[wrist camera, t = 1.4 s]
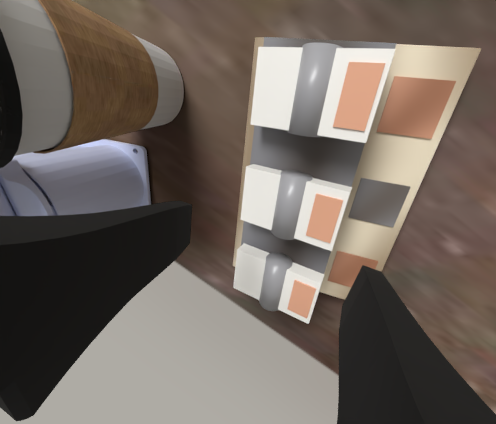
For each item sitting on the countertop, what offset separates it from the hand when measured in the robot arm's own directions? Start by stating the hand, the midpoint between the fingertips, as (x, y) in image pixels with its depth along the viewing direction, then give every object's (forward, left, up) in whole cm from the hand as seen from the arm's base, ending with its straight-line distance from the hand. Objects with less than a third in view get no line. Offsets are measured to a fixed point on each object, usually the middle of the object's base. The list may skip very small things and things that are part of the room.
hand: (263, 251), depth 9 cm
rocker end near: (0, +6, -5) cm, 8 cm away
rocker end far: (0, -6, -5) cm, 8 cm away
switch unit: (+2, 0, -11) cm, 11 cm away
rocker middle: (0, 0, -5) cm, 5 cm away
